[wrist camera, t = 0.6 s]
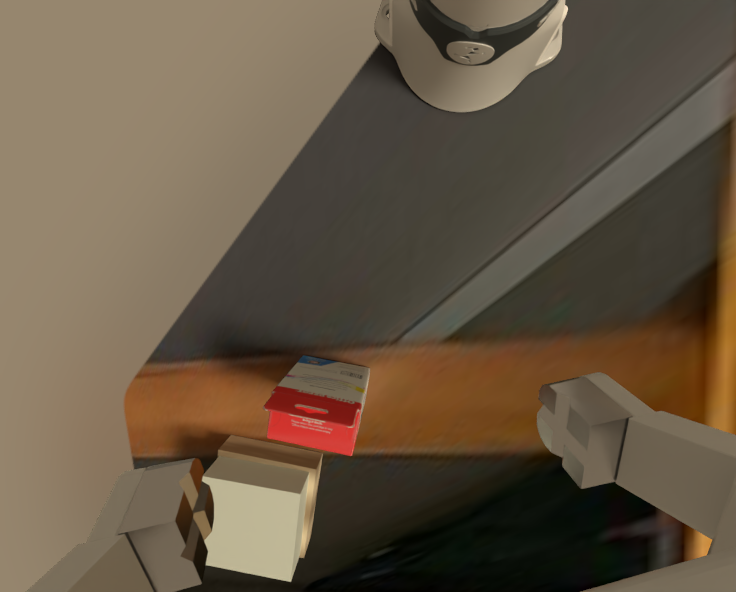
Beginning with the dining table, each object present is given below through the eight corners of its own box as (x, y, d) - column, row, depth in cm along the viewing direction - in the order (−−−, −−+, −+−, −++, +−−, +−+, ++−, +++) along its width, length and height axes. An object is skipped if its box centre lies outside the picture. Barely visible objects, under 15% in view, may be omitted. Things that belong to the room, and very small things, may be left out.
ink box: (297, 391, 49) (251, 456, 35) (303, 353, 48) (258, 404, 34) (365, 404, 48) (347, 477, 34) (372, 366, 48) (356, 424, 33)
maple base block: (232, 432, 51) (218, 449, 47) (323, 451, 50) (316, 469, 47) (224, 515, 53) (209, 537, 49) (311, 533, 53) (303, 558, 49)
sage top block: (219, 455, 48) (202, 476, 44) (309, 472, 47) (300, 494, 43) (213, 536, 49) (196, 563, 45) (300, 553, 49) (290, 581, 45)
